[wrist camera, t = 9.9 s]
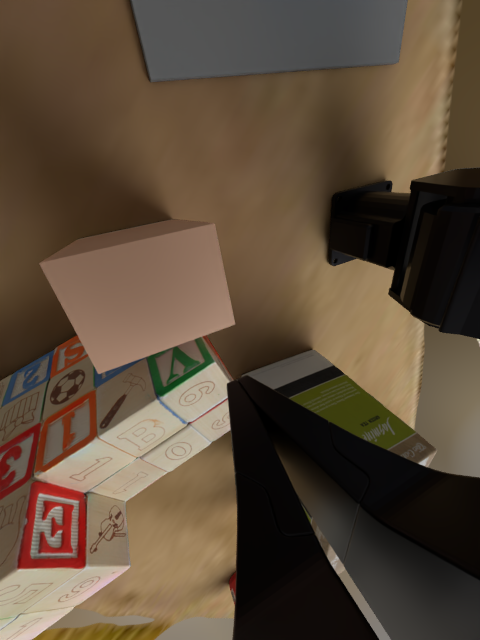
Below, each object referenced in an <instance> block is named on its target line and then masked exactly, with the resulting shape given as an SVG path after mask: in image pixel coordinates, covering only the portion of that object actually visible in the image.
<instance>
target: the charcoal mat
mask: <svg viewBox="0 0 480 640" xmlns="http://www.w3.org/2000/svg"><path fill="white" fill-rule="evenodd" d="M407 1H408V0H130V2H131V6H132V10H133V14H134V18H135V22H136V27H137V31H138V35H139V39H140V43H141V47H142V51H143V55H144V59H145V63H146V67H147V71H148V75H149V79H150V82H159V81H172V80H186V79H200V78H213V77H227V76H240V75H254V74H268V73H281V72H295V71H308V70H322V69H336V68H349V67H363V66H376V65H390V64H396V63H398V62H399V56H400V49H401V42H402V36H403V29H404V22H405V15H406V8H407Z"/></svg>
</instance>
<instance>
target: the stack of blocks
mask: <svg viewBox="0 0 480 640" xmlns="http://www.w3.org/2000/svg"><path fill="white" fill-rule="evenodd" d="M231 381H233V378H232V376H231V375H230V373H229V371H228V370H227V368H226V366H225V365H224V363H223V361H222V360H221V358H220V356H219V355H218V353H217V352H216V350H215V348H214V347H213V345H212V344H211V342H210V341H209V339H208V337H207V336H206V335H205V336H202V337H199V338H197V339H194V340H191V341H188V342H186V343H183V344H180V345H177V346H175V347H172V348H169V349H166V350H164V351H161V352H158V353H155V354H153V355H150V356H147V357H144V358H142V359H139V360H136V361H133V362H131V363H128V364H125V365H122V366H120V367H117V368H114V369H111V370H109V371H106V372H103V373H100V374H98V372H97V371H96V369H95V367H94V365H93V363H92V361H91V359H90V358H89V356H88V354H87V352H86V350H85V348H84V346H83V344H82V343H81V341H80V339H79V337H78V335H77V336H75V337H73V338H71V339H70V340H68V341H66V342H65V343H63V344H61V345H59V346H57V347H56V348H55V350H53V351H51V352H49V353H47V354H46V355H44V356H42V357H40V358H39V359H37V360H35V361H33V362H32V363H30V364H28V365H27V366H25V367H23V368H21V369H20V370H18V371H16V372H15V373H14V374H12V375H10V376H8V377H6V378H4V379H3V380H1V381H0V640H32V639H33V638H35V637H36V636H37V635H39V634H40V633H41V632H43V631H44V630H46V629H47V628H48V627H50V626H51V625H52V624H54V623H55V622H56V621H58V620H59V619H60V618H62V617H63V616H64V615H66V614H67V613H69V612H70V611H71V610H72V609H73V608H74V606H75V605H79V604H80V603H82V602H83V601H85V600H86V599H87V598H89V597H90V596H91V595H93V594H94V593H96V592H97V591H98V590H100V589H101V588H103V587H104V586H105V585H107V584H108V583H109V582H111V581H112V580H114V579H115V578H116V577H118V576H119V575H121V574H122V573H123V572H125V571H126V570H127V569H129V568H130V566H131V564H130V557H129V542H128V530H127V518H126V504H125V503H126V501H127V500H129V499H130V498H132V497H133V496H135V495H136V494H138V493H139V492H141V491H142V490H143V489H145V488H146V487H148V486H149V485H151V484H152V483H154V482H155V481H156V480H158V479H159V478H161V477H162V476H163V475H165V474H166V473H167V472H170V471H172V470H174V469H175V468H176V467H178V466H179V465H181V464H182V463H184V462H185V461H187V460H188V459H189V458H191V457H192V456H194V455H195V454H197V453H198V452H200V451H201V450H203V449H204V448H206V447H207V446H209V445H210V444H211V443H212V441H215V440H217V439H218V438H219V437H221V436H222V435H224V434H225V433H227V432H228V431H230V430H231V429H230V418H229V407H228V397H227V383H229V382H231Z"/></svg>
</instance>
